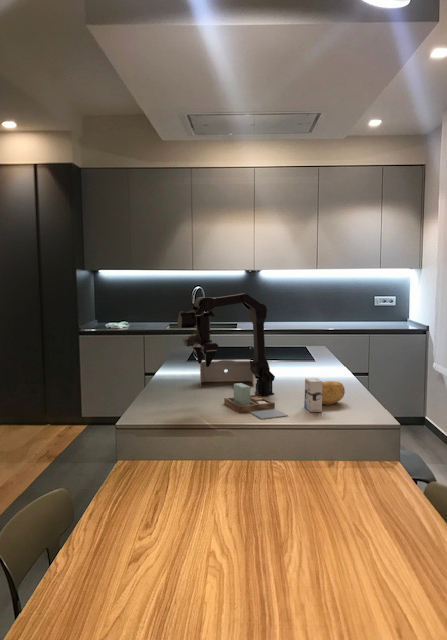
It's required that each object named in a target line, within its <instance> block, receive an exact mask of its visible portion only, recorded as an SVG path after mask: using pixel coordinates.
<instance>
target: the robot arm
mask: <svg viewBox="0 0 447 640" xmlns="http://www.w3.org/2000/svg"><path fill="white" fill-rule="evenodd" d="M238 304H242V305H243V307H244V308H245V309H246V310H247V311H248V315H249V318H250V321H251V323H252V330H253V332H252V335H253V353H254V354H253V359H252V360H251V361H250V370H251V371H252V373H253V376H254V379H256V383H255V391H254V393H255V394H256V395H259V396H261V397H263V396H270V395H271V396H272V395H275V392H273V382H274V381H275V379H276V376H275V375H274V374H273V373H272V372H271V371H270V366H269V362H268V360H267V357H266V346H265V345H266V344H265V343H266V341H265V321H266V320H267V314H268V308H267V306H266V305H265V304H263V303H260V302H259V301H258V300H256V299H254V298H253V297H252V296H251V295H249V294H248V293H245V292H243V293H238V294H232V295H225V296H218V297H217V296H216V297H210V296H209V297H207V296H206V297H205V296H200V297H197V298H196V299H195V300H194V305H193V306H192V307H191V309H190V311H179V313H178V317H177V327H178V329H179V330H180V329H194V328H196V329H194V331H193V332H194V333H192V334H189V335H187V336H185V337H182V341H183V344H184V347H187V348H189V347H190V348H191V349H192V350H193V351H194V352H195V356H196V359H197V363H198V365H200V364H201V362H202V360H205V363H206V367H209V366H210V363H211V361H212V360H214V358H215V357H214V356H215V355H216V353H217V352H218V350H219V344H218V343H216V342H214V341H213V340H212V339H211V334H212V333H213V330H212V329H211V318H212V317H216V315H215V313H213V311H212V310H214V309H217V308H219V307H224V306H225V307H226V306H231V305H238ZM203 358H204V359H203Z"/></svg>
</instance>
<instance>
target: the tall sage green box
mask: <svg viewBox="0 0 447 640" xmlns="http://www.w3.org/2000/svg"><path fill="white" fill-rule="evenodd" d="M250 395H251V386H249V385H248V384H244V383H242V382H238V383H233V397H234V402H235V403H237V404H239V405H241V406H244V405H250Z"/></svg>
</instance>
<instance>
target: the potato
mask: <svg viewBox="0 0 447 640" xmlns="http://www.w3.org/2000/svg"><path fill="white" fill-rule="evenodd" d="M322 382H323V384H322V405H329V406H330V405H333V404H335V403H338V402H339V401H341V400H342V399H343V398H344V397H345V393H346V391H345V386H344V384H343V383H342V382H340V381H333V380H326V381H322Z"/></svg>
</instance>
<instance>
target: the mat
mask: <svg viewBox="0 0 447 640" xmlns="http://www.w3.org/2000/svg"><path fill="white" fill-rule="evenodd" d="M248 413H249V414H251V415H252V416H255V417H256V418H258V419H260V420H269V419H275V418H277V419H278V418H284V417H289V414H286V413H284V412H283V411H280V410H279V409H276V408H275V409H274V408H273V409H264V410H256V411H249V412H248Z"/></svg>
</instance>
